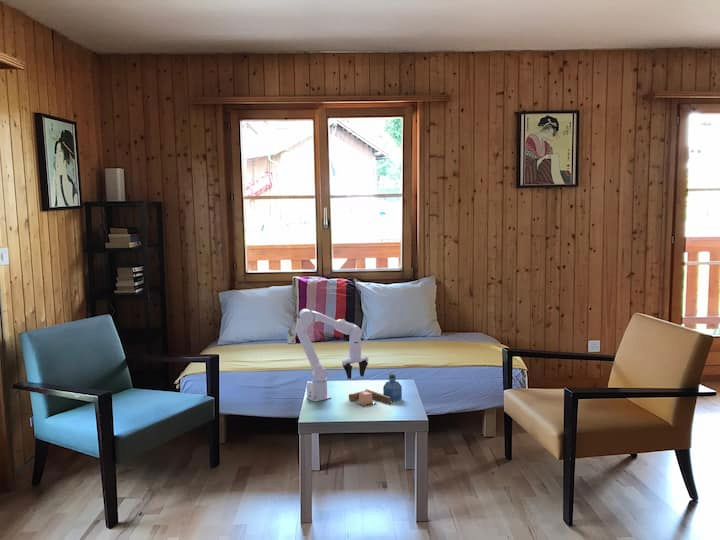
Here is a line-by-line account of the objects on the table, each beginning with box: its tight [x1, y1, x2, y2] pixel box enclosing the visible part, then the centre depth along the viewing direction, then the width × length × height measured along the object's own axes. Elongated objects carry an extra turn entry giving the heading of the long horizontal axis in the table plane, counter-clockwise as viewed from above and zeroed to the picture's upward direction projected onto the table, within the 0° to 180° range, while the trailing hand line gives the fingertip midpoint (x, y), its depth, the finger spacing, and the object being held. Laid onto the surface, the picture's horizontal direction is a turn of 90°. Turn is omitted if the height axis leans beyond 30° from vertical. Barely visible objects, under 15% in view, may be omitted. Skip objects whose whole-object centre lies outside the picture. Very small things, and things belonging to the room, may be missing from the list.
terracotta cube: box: [358, 391, 373, 405], centre depth 292 cm, size 4×4×5 cm
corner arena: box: [348, 388, 392, 408], centre depth 294 cm, size 13×18×3 cm
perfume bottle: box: [382, 373, 403, 403], centre depth 297 cm, size 6×6×12 cm
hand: (355, 377), depth 305 cm, fingers open, 7 cm apart
